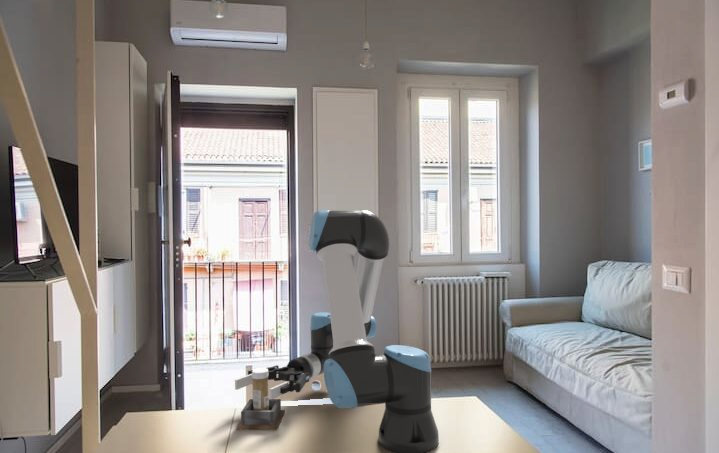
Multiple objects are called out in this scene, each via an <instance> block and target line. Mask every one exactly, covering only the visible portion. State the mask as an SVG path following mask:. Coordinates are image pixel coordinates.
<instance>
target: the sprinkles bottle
mask: <svg viewBox="0 0 719 453" xmlns="http://www.w3.org/2000/svg"><path fill="white" fill-rule="evenodd" d="M267 368H268V367H258V368H254V369H252V370H253V371H252V379H253V384H252V399H253V407H254V410H269V399H270V391H269V380H268V376H269V372H268V369H267Z"/></svg>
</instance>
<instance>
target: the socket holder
mask: <svg viewBox="0 0 719 453" xmlns="http://www.w3.org/2000/svg"><path fill="white" fill-rule="evenodd" d="M281 401H282V400H281V398H274V399H270V398H269V410H254V407H253V398H250V399H249V400H248V402H247V403H246V404H245V406H244V407H243V409H242V410H241V412H240V420H239V422H238V424H237V425H236V429H235V430H236V431H278V429H279V427H280V425H281V422H282V421H283V418H284V416H285V414H286V410H285V409H282V406H281V405H282V402H281Z"/></svg>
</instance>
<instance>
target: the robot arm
mask: <svg viewBox="0 0 719 453" xmlns="http://www.w3.org/2000/svg"><path fill="white" fill-rule="evenodd" d="M308 236H309V237H308V242H309V243H308V244H309V245H308V246H309V249H310V251H312V252H316V258H317V259H318V260H319V261H320V262H322V265H323V271H324V272H323V273H324V280H325V286H326V295H327V303H328V312H324V311H322V312H315V313H313V314H312V315H311V317H310V352H309V353H305V354H303V355H301V356H297V357H295V358H292V359H291V360H289V362H288V363H287V364H286V366H283V367H279V365H277V364H276V365H274V366H270V367H266V368H267V369H268V372H269V376H268V381H272V380H273V381H274V382H278V381H279V382H280V381H283V382H282V383H279V384H277V385H275V386H273V387H270V388H269V399H277V398H278V397H280V396H282V395H285V394H287V393H289V392H290V393H293V392H294V391H295V392H296V393H300V392H301V391H302V389H303V388H304V386H305V385H306V384H307V383H308V382H310V380H311V379H313V378H315V377H317V376H319V375H322V374H323V378H324V384H325V387H326V391H327V394H328V398H329V400H330V401H331V403H332V405H334V406H335V407H336V408H338V409H356V408H358V407H366V406H367V407H368V406H374V405H383V404H385V405H384V408H385V409H384V412H383V415H382V417H381V418H382V419H381V422H380V424H379V427H378V442H379V444H380V445H381V446H382V447H384V448H385V449H387V450H389V451H390V452H394V453H428V452H430V451H432V450H434V449H436V447H437V446H438V445H439V439H440V438H439V430H438V427H437V424H436V421H435V417H434V415H433V412H432V367H431V357H430V355H429V353H428V352H426V351H425V350H423V349H421V348H418V347H415V346H414V347H413V346H409V345H399V344H395V345H394V344H392V345H387V346H385V347H384V350H383V353H381V354H380V353H379V354H376V352H375V350H376V349H375V346H374V344H372V343H371V342H369V341H368V339H370V338H374V337H375V336H376V334H377V321H376V318H375V317H374V316H373V313H374V312H373V311H374V305H375V302H376V296H377V292H378V287H379V282H380V279H381V278H380V277H381V272H382V268H383V263H384V260H385V259H387V257H388V255H389V251H390V238H389V236H390V235H389V233H388V229H387V227H386V225H385V224H384V222H383V221H382V220H381V218H380V217H378V215H376V214H375V213H373V212H371V211H369V210H366V209H357V210H354V209H350V210H347V209H344V210H342V209H340V210H339V209H337V210H336V209H335V210H334V209H333V210H332V209H331V210H330V209H327V210H316V211H315V212H314V214H313V215H312V218H311V221H310V227H309V235H308ZM357 254H358V256H359V257H358V262H357V268H356V265H355V260H354V257H355V256H356V255H357ZM253 370H254V369H251V370H248V371H247V375H244V376H242V377H239V378H236V379H234V390H237V391H238V390H241V389H242V388H245V387H247V386H249V385H250V386H251V385H253V379H252V371H253ZM277 376H278V377H277Z"/></svg>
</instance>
